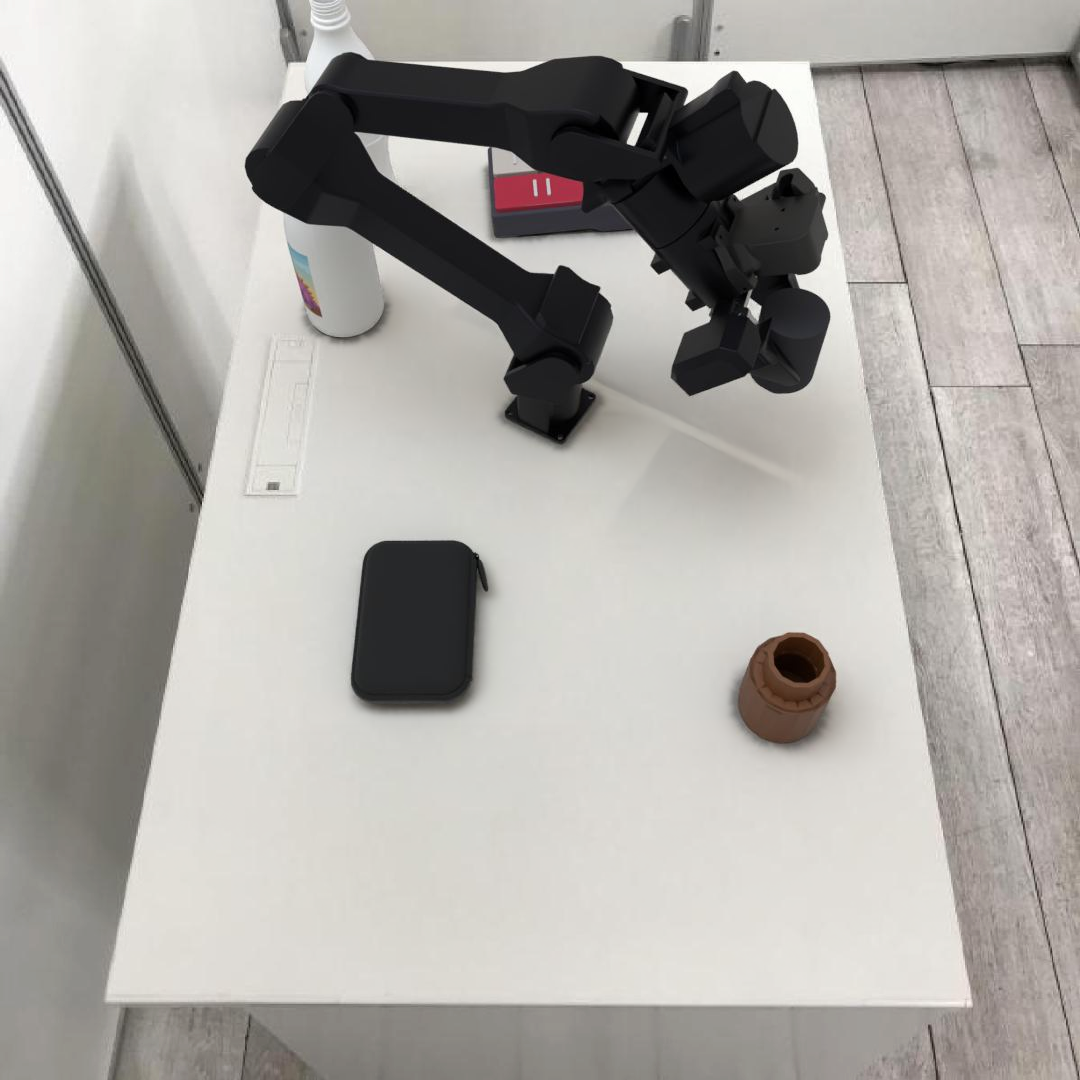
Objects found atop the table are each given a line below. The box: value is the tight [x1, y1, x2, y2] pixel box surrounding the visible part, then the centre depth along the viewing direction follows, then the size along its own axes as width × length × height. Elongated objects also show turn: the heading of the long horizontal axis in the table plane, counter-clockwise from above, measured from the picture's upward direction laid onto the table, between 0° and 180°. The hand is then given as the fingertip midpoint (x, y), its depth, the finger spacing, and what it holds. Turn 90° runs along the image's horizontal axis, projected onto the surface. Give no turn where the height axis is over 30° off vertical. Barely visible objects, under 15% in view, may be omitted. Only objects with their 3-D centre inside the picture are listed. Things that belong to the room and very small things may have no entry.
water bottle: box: [303, 0, 400, 186], centre depth 103 cm, size 7×7×25 cm
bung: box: [749, 287, 831, 395], centre depth 84 cm, size 5×5×8 cm
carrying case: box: [350, 539, 489, 704], centre depth 87 cm, size 11×3×15 cm
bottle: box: [737, 631, 837, 744], centre depth 81 cm, size 6×6×8 cm
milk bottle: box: [282, 212, 385, 338], centre depth 99 cm, size 8×8×20 cm
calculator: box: [487, 142, 634, 238], centre depth 113 cm, size 11×4×15 cm
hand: (801, 357), depth 84 cm, fingers closed on bung, 5 cm apart
